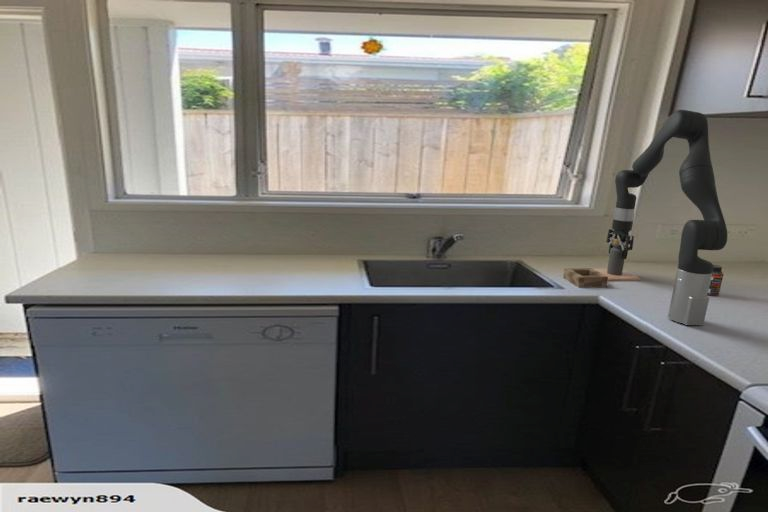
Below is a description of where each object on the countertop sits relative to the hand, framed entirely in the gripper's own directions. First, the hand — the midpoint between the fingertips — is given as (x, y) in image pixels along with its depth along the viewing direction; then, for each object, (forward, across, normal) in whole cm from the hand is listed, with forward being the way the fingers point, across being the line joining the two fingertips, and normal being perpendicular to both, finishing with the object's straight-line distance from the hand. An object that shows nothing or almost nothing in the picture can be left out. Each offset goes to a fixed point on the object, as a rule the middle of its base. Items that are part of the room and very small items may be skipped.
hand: (617, 256), depth 194 cm
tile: (+9, 0, 0) cm, 9 cm away
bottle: (+8, 0, 0) cm, 8 cm away
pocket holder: (+9, -8, +18) cm, 21 cm away
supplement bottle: (+9, -24, -24) cm, 35 cm away
